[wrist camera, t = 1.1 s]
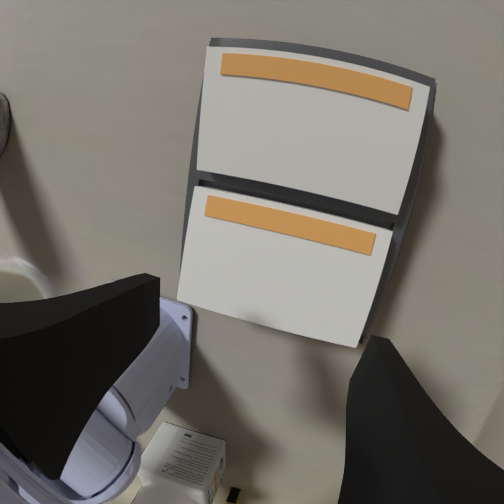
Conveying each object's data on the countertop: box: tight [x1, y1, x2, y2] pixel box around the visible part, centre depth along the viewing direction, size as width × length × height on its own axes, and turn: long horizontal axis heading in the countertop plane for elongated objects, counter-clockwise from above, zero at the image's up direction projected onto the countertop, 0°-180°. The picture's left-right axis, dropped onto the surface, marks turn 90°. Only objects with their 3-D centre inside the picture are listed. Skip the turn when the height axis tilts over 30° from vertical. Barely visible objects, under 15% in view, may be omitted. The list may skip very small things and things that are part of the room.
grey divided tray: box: [179, 38, 437, 344], centre depth 16 cm, size 15×12×4 cm
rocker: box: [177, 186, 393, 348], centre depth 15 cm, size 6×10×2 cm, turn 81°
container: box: [131, 422, 226, 504], centre depth 25 cm, size 8×8×13 cm
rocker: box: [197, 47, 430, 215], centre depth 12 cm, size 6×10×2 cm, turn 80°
